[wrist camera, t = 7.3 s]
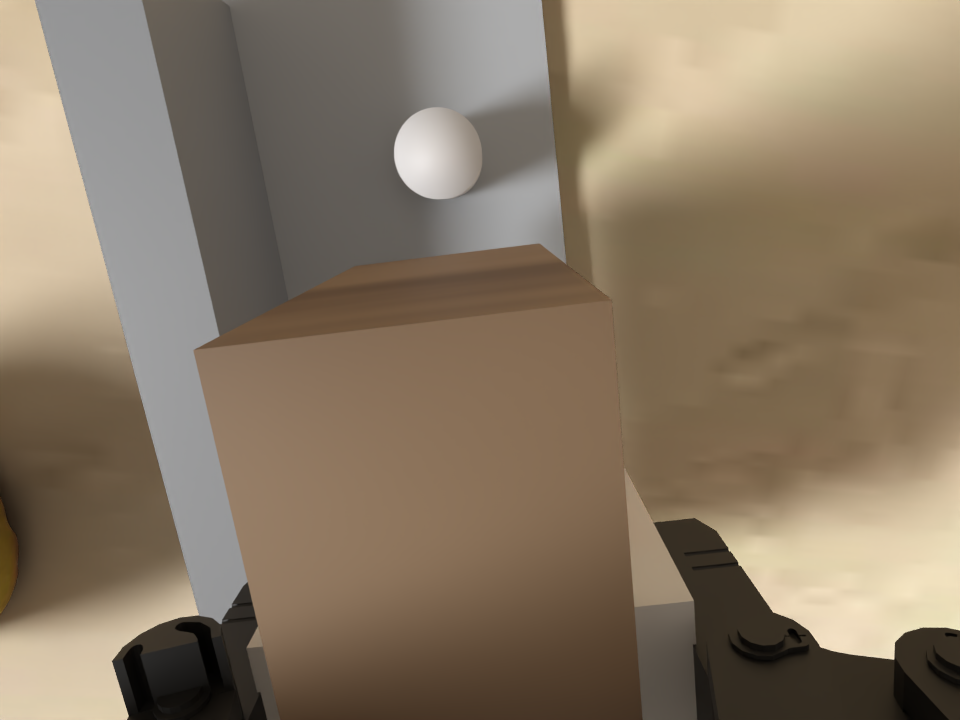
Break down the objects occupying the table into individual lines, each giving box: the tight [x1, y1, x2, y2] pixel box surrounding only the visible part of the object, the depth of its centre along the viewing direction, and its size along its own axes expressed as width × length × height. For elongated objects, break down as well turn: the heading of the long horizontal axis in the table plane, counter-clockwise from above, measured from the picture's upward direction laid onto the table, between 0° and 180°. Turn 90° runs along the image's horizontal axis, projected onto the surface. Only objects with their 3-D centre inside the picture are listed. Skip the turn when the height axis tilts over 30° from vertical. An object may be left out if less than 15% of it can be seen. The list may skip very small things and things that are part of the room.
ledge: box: [35, 0, 566, 624], centre depth 17 cm, size 25×11×6 cm, turn 7°
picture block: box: [193, 243, 643, 720], centre depth 11 cm, size 11×4×8 cm, turn 7°
